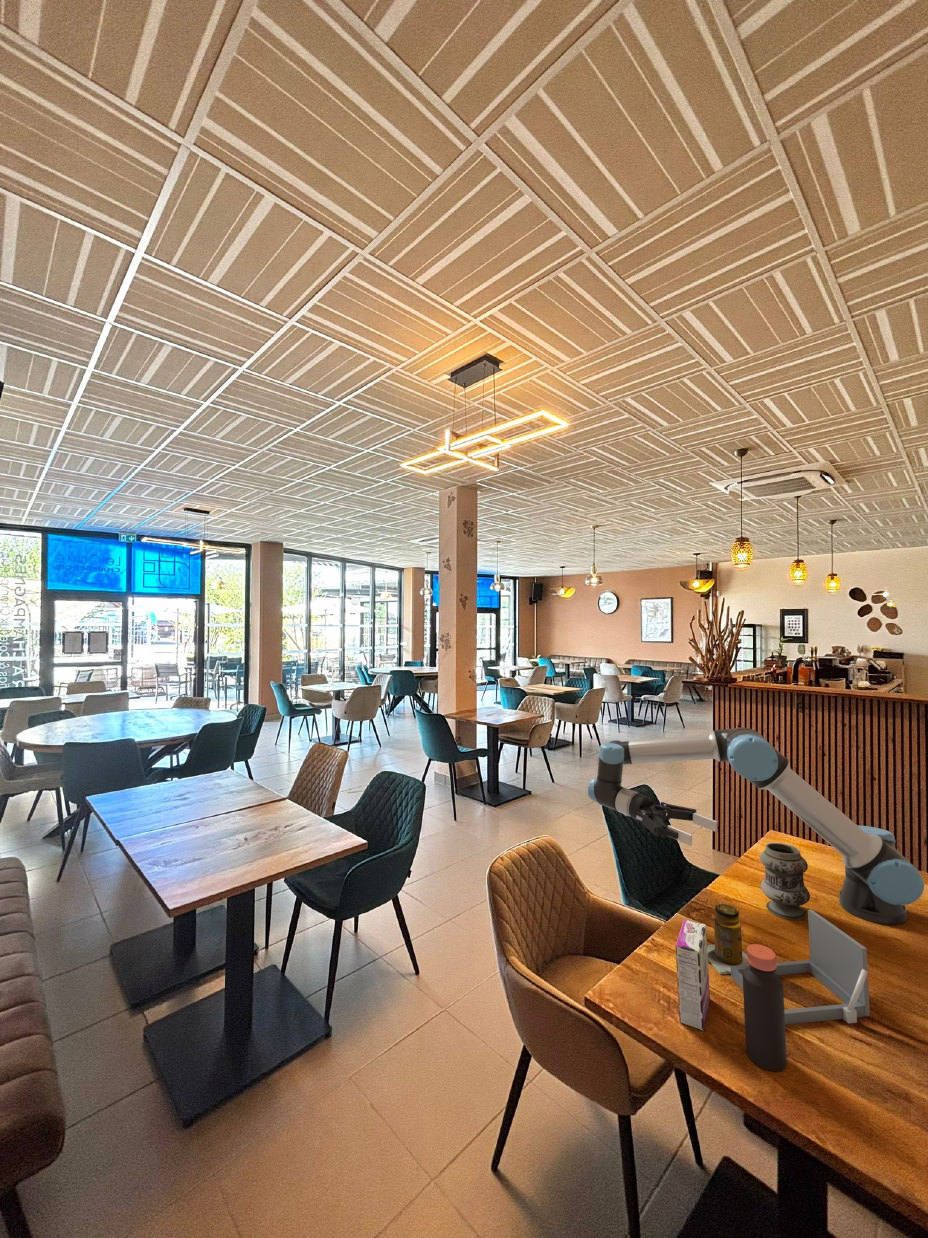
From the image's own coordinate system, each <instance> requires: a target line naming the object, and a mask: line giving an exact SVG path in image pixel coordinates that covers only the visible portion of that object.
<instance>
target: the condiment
mask: <svg viewBox="0 0 928 1238" xmlns="http://www.w3.org/2000/svg"><path fill="white" fill-rule="evenodd" d="M714 911H715V912H714V916H713V930H714V931H713V932H714V934H713V935H714V945H715V949H714V950H712V951H710V952H708V953H707V955H708V960H709V961H711V962H712V963H714V964H716V965H718V966H719V967H721V968H723V969H725V970H727V971H729V972H731V967H737V966H742V965H744V964H745V963H746V962H748V961H747V957H745V956H742V951H743V943H742V942H743V939H742V937H743V936H742V924H741V920H740V916H739V914H740V913H739V910H738V909H737V908H736V907H735V906H733V905H731V904H727V903H719V904H716V905H715V908H714ZM709 961H708V962H709Z"/></svg>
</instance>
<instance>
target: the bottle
mask: <svg viewBox="0 0 928 1238" xmlns="http://www.w3.org/2000/svg"><path fill="white" fill-rule="evenodd" d="M746 955H747V961H748V964H749V966H748V967H746V968H745V969H744V971H743V973H742V975H743V989H742V994H743V995H742V997H743V1012H744V1013H743V1015H744V1016H743V1019H744V1034H745V1035H744V1039H745V1052H746V1054H747V1057H748V1058H749V1059H750V1060H751V1061H752V1063H754V1064H756V1066H758V1067H760V1068H762V1069H763V1070H766V1071H769V1072H779V1071H783V1070H784V1069H785V1068H786V1067H787V1063H788V1061H787V1060H788V1059H787V1058H788V1057H787V1038H786V1034H787V1033H786V1025H785V1013H784V1010H785V998H784V997H785V996H784V984H783V980H782V979H781V977H780V975H777V974H776V973H775V972H776V967H777V966H776V963H777V954H776V952H775V951H774V950H773V949H772V948H769V947H768V946H765V945H763V944H757V943H753V944H748V945H747V946H746Z"/></svg>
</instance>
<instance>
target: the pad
mask: <svg viewBox="0 0 928 1238" xmlns="http://www.w3.org/2000/svg"><path fill="white" fill-rule="evenodd" d="M714 949H715V944H707V953H708V952H710V951H712V950H714ZM742 956H745V957H747V953H745V952H744V951H743V950H742ZM708 963H710V964H711V965H712V967H713V968H714V969H715V970H716V971H717V972H718V973H719V975H729V974H730V975H731V972H729V971H727V970H725V969H723V968H721V967H719V966H718V965H716V964H714V963H712V962H711V961H709V960H708ZM748 965H749V964H748V962H746V963H745V964H744V965H742V966H748Z"/></svg>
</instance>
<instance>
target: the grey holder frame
mask: <svg viewBox="0 0 928 1238" xmlns="http://www.w3.org/2000/svg"><path fill="white" fill-rule="evenodd" d="M807 917H808V921H807V923H808V939H809V957H810V959H804V960H803V959H802V960H794V961H783V962H781V961H780V962H776V966H777V967H776V972H775V973H776V974H777V975H778V976H785V975H787V976H788V975H797V974H807V973H809V974H811V975H812V976H813V977H814V978H816V979H817V980H818V981H819V982H820V983H821V984H822V985H824V987H826V988H827V989H828V990H829V991H830V992H831V993H833V994H834V995H835V996H836V997H837V998H838V999H839V1000H841V1001H842V1003H843V1004H831V1005H821V1006H811V1007H810V1006H809V1007H801V1008H791V1009H784V1013H785V1026H787V1025H793V1024H795V1025H796V1024H804V1023H814V1022H823V1021H835V1020H843V1021H844V1022H846V1023H847V1024H857V1023H858V1018H862V1017H870V1016H871V1011H870V1009H871V1008H870V995H869V992H870V991H869V971H868V953H867V950H868V949H867V947H865V946H864V945H862V944H861V943H859V942H858V941H856V939H854V938H852V937H851V936H850V935H848V934H847V933H845V931H843V930H841V929H840V928H838V926H836V925H834V924H833V923H831V922H830V921H828V920H827V919H826V918H825V917H823V916H821V915H820V914H819V913H817V912H816V911H814V910H813V909H807ZM748 966H749V965H748ZM748 966H737V967H731V974H730V977H731V978H732V979H733V981H734V982H735V983H736V984H737V985H738V986H739V987H740V988H741V990H743V975H742V973H743V971H744V969H745V968H746V967H748Z"/></svg>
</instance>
